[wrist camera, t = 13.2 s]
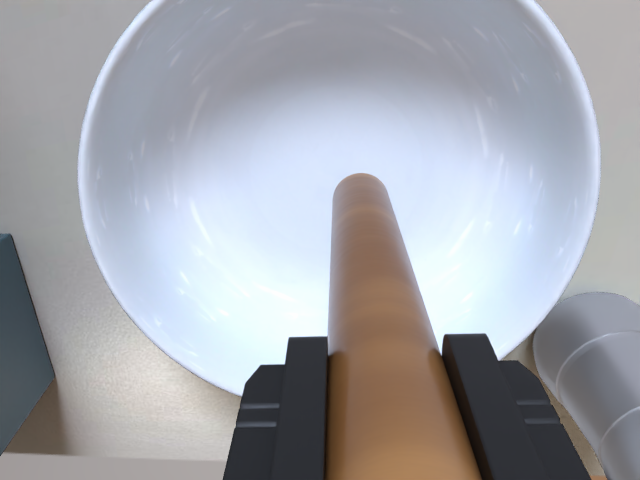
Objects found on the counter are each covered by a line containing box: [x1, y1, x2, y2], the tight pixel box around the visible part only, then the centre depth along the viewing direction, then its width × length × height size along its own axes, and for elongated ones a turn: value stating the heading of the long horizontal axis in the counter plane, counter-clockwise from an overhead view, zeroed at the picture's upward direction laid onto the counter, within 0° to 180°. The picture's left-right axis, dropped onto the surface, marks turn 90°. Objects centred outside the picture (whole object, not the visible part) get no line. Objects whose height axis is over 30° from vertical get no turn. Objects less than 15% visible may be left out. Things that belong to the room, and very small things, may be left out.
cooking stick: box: [325, 173, 482, 480], centre depth 12 cm, size 2×2×20 cm
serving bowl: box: [77, 0, 601, 397], centre depth 25 cm, size 21×21×7 cm
